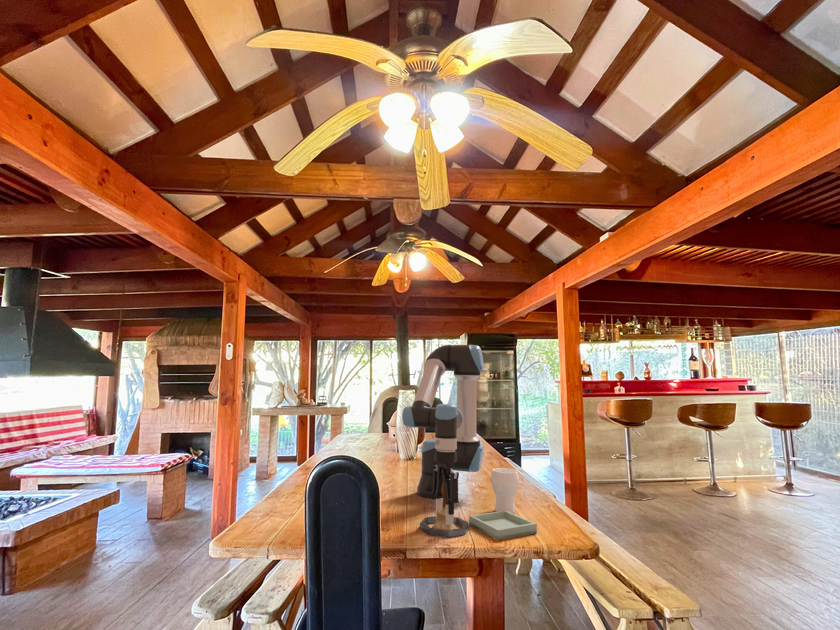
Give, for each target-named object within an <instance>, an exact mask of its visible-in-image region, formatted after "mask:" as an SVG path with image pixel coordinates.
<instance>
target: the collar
mask: <svg viewBox="0 0 840 630" xmlns="http://www.w3.org/2000/svg"><path fill="white" fill-rule="evenodd" d="M436 520H437V519H436V515H434V516H427V517H424V518H423V519H422V520H421V521H420V523H419V530H421V531H422V532H424V533H425V534H426V535H428V536H432V537H433V536H434V537H441V538H454V537H460V536H465V535H466V534H467V532H468V531H469V528H470V525H469V521H466V520H464V519H463V518H460V517H458V516H457V517H456V516H454V525H458V526H460V527H459V528H457V529H452V530H442V529H434V528H432V527H430V526H429V525H430V524H435V522H436Z"/></svg>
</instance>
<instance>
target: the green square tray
mask: <svg viewBox="0 0 840 630" xmlns="http://www.w3.org/2000/svg"><path fill="white" fill-rule="evenodd" d="M468 517H469V518H468V523H469V527H472V528H474V529H475V530H478V531H480V532H482V533H483V534H485V535H487V536H489V535H490V536H489V537H491V538H492V539H494V538H495V539H494V540H496V539H497V541H501V540H500V539H503V540H508V539H512V538H518V537H523V536H529V534H530V535H535V533H536V534H537V533H538V531H537V530H538V528H537V527H538V526H537V525H538V524H537V523H536V522H534V521H532V520H529V519H527V518H524V517H522V516H520V515H517V514H516V513H511V512H508V511H506V510H505V511H498V512H496V511H492V512H486V513H478V514H472V515H468Z"/></svg>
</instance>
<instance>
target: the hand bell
mask: <svg viewBox="0 0 840 630" xmlns="http://www.w3.org/2000/svg"><path fill="white" fill-rule="evenodd" d="M446 480H447V479H446ZM441 491H442V497H443V505H442V506H443V507H442V510H440V511H439V512H438V517H437V520H436V522H435V523H433V525H432V526H431V528H434V529H442V530H452V529H458V528H457V526H456V524H451V525H445V514H446V504H445V503H447V497H446V488H445V483H444V482H443V484H442V489H441Z"/></svg>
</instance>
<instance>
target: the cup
mask: <svg viewBox="0 0 840 630" xmlns="http://www.w3.org/2000/svg"><path fill="white" fill-rule="evenodd" d="M490 482H491V486H492V489H493V492H494V494H495V504H494V505H495V506H494V512H498V511H505V510H506V511H508V512H511V513H513V514H516V506H515V497H516V493H517V492H518V489H519V485H520V477H519V472H518V470H516V469H513V468H508V467H507V468H506V467H498V468H497V467H495V468H493V469H492V471H491V475H490Z"/></svg>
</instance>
